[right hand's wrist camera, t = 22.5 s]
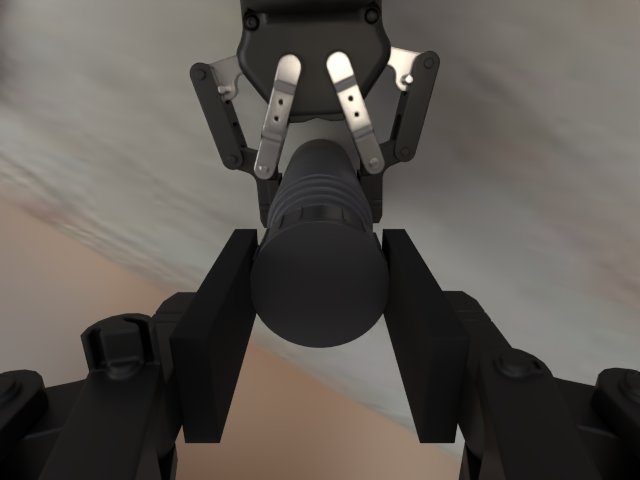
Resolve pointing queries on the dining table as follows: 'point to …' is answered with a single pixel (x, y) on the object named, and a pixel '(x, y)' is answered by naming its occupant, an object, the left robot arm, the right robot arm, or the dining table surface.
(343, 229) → the cap
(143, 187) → the dining table surface
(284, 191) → the bottle
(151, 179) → the dining table surface
